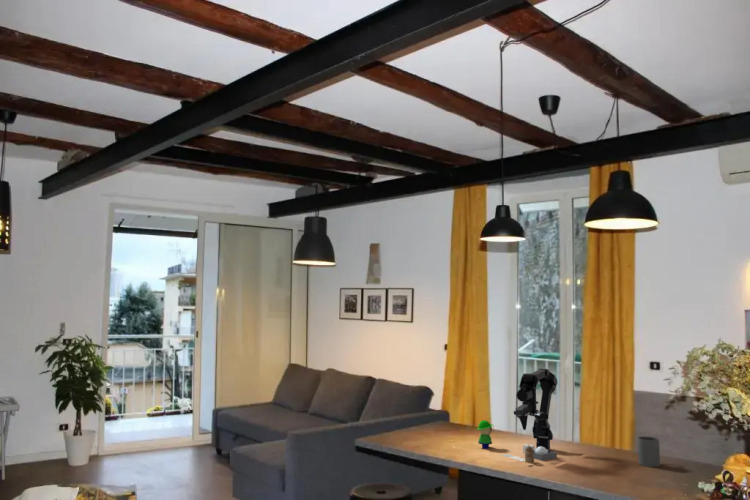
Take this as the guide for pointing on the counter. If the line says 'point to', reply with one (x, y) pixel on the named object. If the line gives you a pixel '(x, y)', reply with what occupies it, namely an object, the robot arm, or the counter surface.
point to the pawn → (529, 455)
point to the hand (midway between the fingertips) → (531, 431)
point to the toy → (485, 433)
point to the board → (517, 458)
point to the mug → (648, 451)
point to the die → (527, 446)
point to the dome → (541, 450)
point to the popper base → (545, 455)
